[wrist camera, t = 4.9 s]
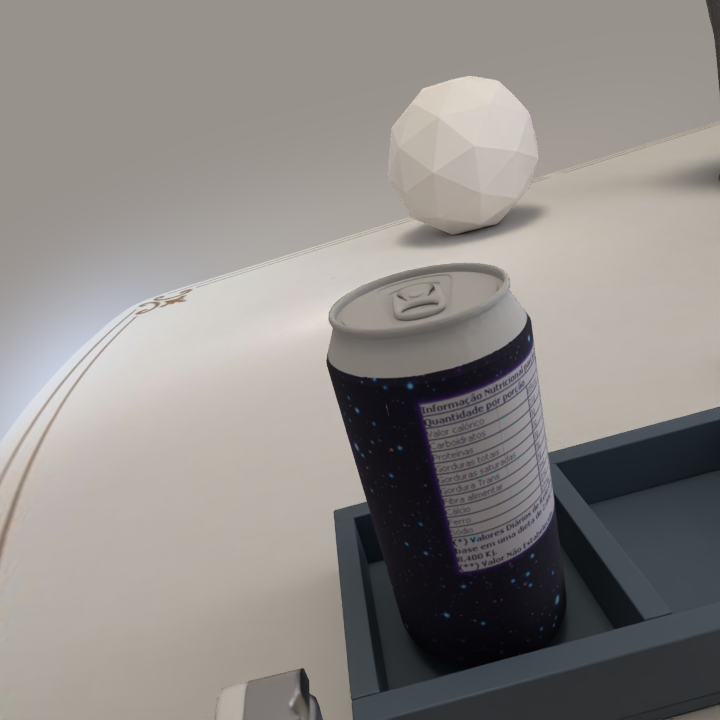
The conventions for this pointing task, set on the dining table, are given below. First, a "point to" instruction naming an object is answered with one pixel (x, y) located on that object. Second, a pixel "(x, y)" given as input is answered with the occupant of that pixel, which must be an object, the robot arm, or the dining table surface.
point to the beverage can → (453, 457)
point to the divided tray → (573, 596)
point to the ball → (462, 154)
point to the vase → (715, 29)
